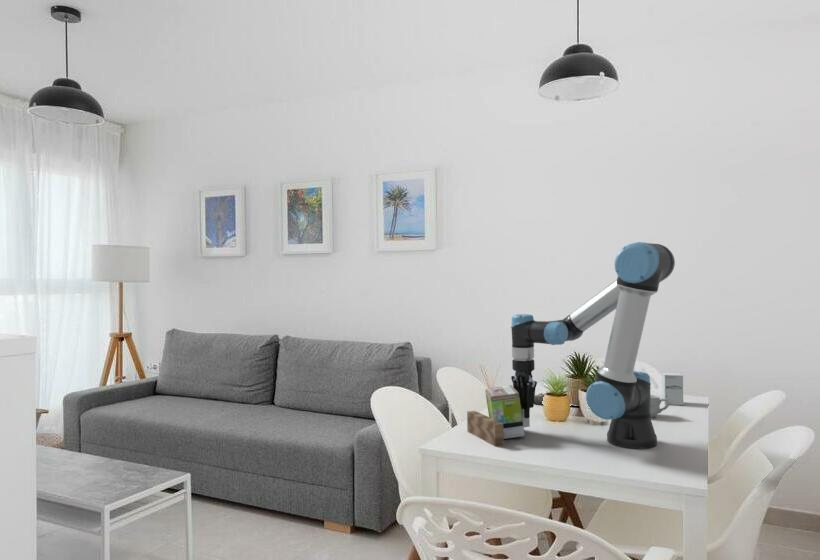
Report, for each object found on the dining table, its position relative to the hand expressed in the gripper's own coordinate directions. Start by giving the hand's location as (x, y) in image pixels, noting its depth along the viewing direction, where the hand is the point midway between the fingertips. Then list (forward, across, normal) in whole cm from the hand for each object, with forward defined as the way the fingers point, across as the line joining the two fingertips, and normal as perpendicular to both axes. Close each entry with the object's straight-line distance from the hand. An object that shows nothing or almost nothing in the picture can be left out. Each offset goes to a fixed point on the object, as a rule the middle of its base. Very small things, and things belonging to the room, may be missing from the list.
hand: (524, 426), depth 198 cm
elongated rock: (+4, +30, -39) cm, 50 cm away
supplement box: (+4, +14, -81) cm, 82 cm away
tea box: (+2, 0, +7) cm, 7 cm away
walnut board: (+2, -1, +16) cm, 16 cm away
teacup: (+3, 0, -55) cm, 55 cm away
